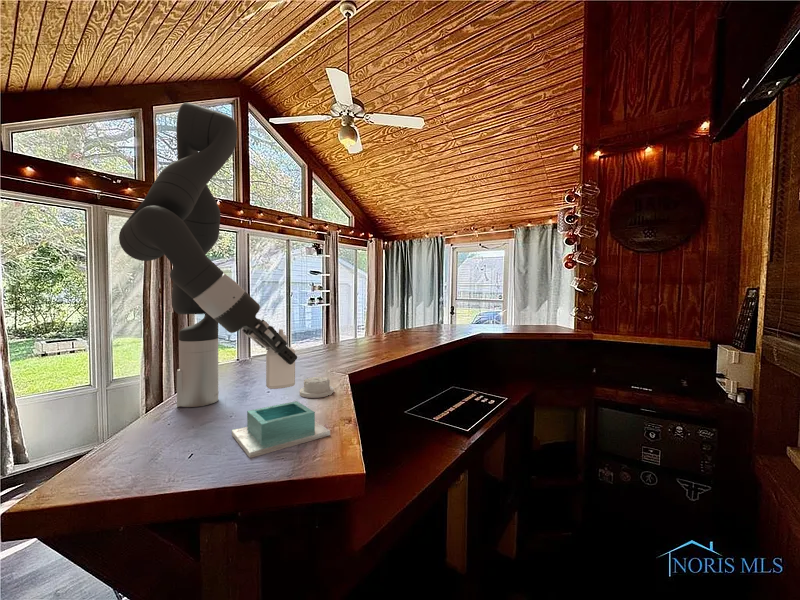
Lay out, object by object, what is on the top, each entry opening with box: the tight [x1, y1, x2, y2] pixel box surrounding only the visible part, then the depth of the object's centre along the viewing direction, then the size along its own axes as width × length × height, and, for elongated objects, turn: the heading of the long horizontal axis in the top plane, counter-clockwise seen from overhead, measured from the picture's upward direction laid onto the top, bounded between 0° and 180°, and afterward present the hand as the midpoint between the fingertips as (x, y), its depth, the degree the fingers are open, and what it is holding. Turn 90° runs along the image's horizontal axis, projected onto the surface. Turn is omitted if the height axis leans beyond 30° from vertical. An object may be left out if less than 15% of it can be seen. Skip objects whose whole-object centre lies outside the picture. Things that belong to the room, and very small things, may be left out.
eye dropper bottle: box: [265, 328, 296, 390], centre depth 71 cm, size 4×6×12 cm
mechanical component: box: [299, 376, 335, 399], centre depth 102 cm, size 10×4×10 cm
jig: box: [231, 400, 331, 459], centre depth 72 cm, size 16×13×5 cm
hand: (289, 359), depth 73 cm, fingers closed on eye dropper bottle, 3 cm apart
